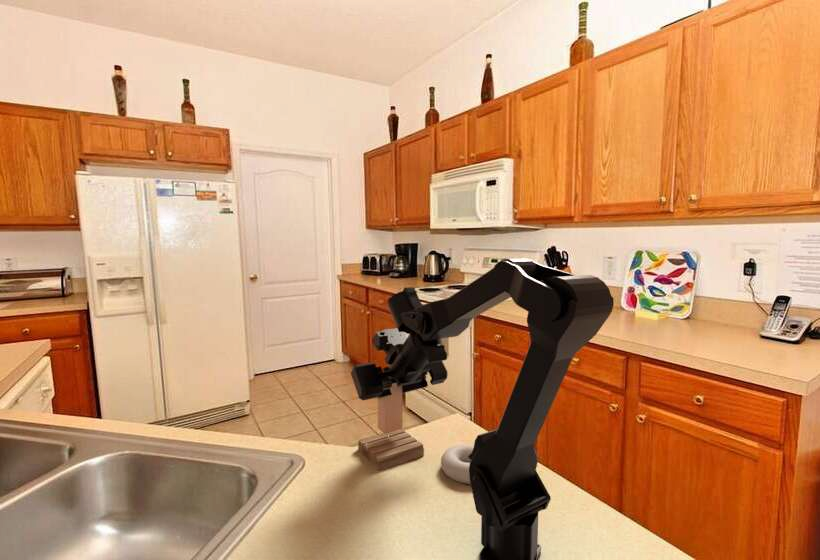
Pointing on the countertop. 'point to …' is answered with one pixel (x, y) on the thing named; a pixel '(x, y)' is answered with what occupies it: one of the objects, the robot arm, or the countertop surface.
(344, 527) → the countertop surface
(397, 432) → the stacked wooden slats
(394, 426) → the clay bar
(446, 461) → the donut
